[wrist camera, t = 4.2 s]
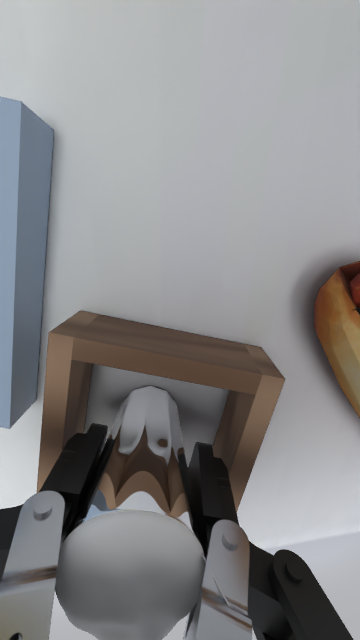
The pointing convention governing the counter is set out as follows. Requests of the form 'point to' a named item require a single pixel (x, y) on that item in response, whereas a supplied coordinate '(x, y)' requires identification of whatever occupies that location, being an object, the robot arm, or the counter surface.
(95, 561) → the milkshake
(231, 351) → the holder
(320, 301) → the hot dog
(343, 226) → the counter surface
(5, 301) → the tray
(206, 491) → the robot arm
